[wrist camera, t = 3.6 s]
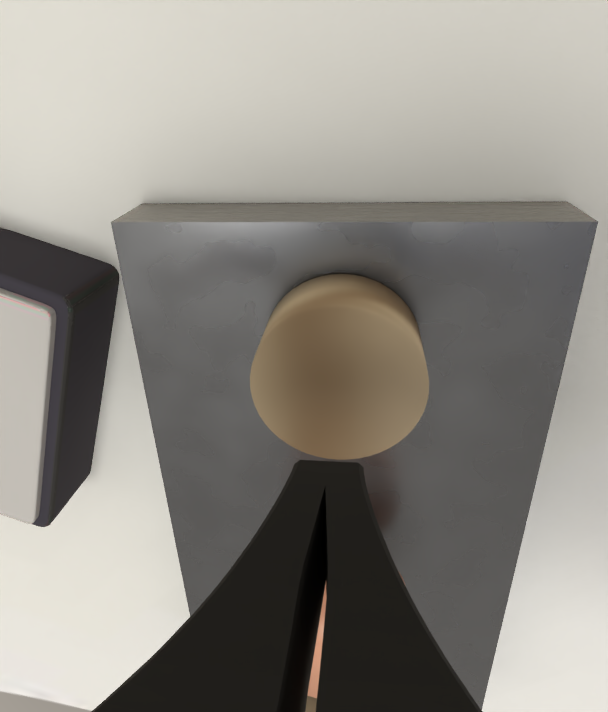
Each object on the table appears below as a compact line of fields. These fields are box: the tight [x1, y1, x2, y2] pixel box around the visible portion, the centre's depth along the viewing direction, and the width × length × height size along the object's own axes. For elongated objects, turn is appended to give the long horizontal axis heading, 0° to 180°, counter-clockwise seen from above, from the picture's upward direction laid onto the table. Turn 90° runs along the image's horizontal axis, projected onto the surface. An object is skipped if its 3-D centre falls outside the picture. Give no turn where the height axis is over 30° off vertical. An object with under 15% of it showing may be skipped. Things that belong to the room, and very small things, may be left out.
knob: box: [250, 274, 429, 460], centre depth 16 cm, size 5×5×2 cm
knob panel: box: [111, 202, 598, 710], centre depth 22 cm, size 14×26×2 cm, turn 2°
